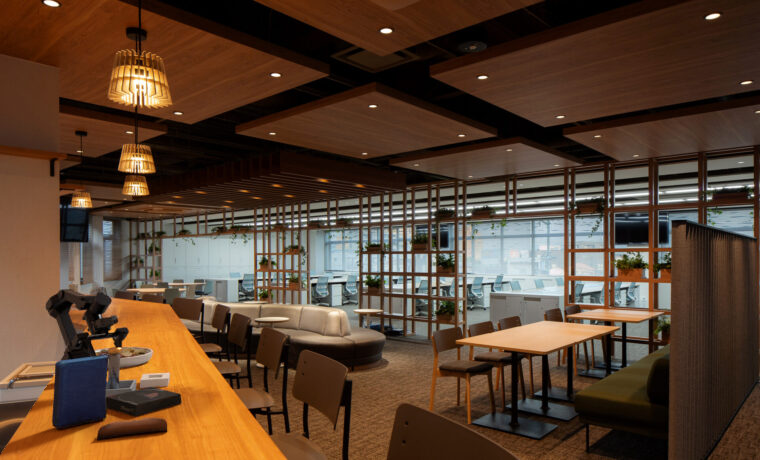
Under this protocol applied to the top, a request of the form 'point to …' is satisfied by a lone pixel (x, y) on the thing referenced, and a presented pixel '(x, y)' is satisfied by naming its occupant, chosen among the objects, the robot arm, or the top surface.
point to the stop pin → (114, 367)
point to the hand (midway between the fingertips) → (108, 355)
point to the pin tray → (121, 387)
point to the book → (80, 391)
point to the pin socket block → (154, 380)
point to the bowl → (129, 355)
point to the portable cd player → (143, 401)
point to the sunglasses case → (132, 427)
